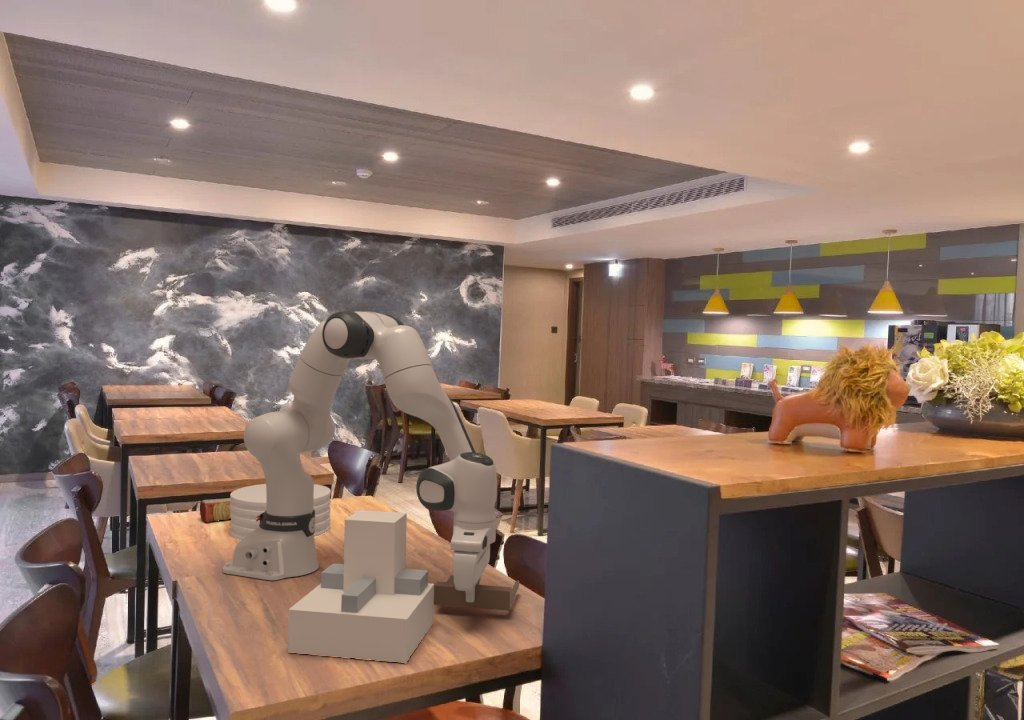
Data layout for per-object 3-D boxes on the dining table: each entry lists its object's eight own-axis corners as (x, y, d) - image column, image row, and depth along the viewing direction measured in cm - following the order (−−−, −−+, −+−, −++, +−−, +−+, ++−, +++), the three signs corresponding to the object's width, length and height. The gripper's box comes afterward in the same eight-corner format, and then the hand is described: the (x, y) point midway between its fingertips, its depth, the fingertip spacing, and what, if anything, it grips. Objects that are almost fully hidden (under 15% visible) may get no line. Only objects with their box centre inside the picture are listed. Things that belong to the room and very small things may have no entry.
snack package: (268, 512, 237) (268, 491, 237) (275, 516, 231) (275, 495, 231) (198, 520, 224) (199, 498, 224) (204, 525, 219) (204, 502, 219)
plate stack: (326, 516, 232) (326, 480, 232) (334, 540, 206) (334, 499, 206) (232, 521, 224) (232, 484, 223) (227, 547, 197) (228, 504, 197)
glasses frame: (433, 604, 152) (434, 585, 152) (450, 580, 167) (450, 563, 167) (509, 610, 150) (510, 591, 150) (519, 586, 165) (520, 568, 165)
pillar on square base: (287, 653, 132) (289, 532, 131) (329, 614, 151) (331, 508, 150) (406, 664, 129) (408, 540, 128) (433, 623, 147) (435, 514, 147)
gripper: (469, 518, 163) (467, 580, 163) (448, 544, 142) (446, 614, 143) (497, 520, 162) (495, 582, 162) (480, 546, 142) (478, 617, 142)
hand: (472, 597), depth 152 cm, fingers closed on glasses frame, 3 cm apart
